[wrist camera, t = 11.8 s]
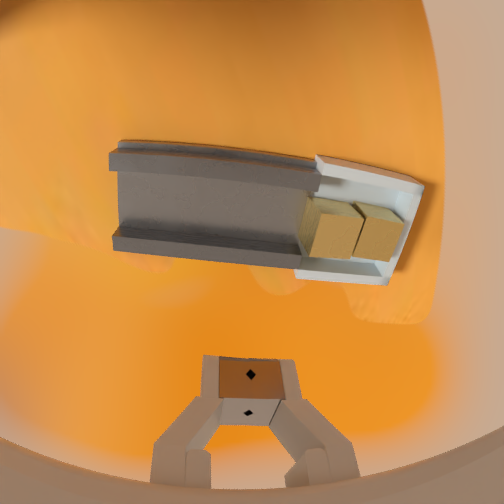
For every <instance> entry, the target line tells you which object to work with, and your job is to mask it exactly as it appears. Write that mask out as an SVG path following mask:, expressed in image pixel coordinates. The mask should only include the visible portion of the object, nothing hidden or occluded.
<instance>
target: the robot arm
mask: <svg viewBox="0 0 504 504" xmlns="http://www.w3.org/2000/svg"><path fill="white" fill-rule="evenodd" d="M219 425H255V426H269V428H270V429H271V431H272V432H273V433H274V435H275V436H276V437H277V439H278V440H279V441H280V442H281V444H282V445H283V446H284V448H285V449H286V450H287V451H288V453H289V454H290V455H291V456H292V458H293V459H294V460H295V462H296V463H295V465H294V466H293V467H292V468H291V469H290V470H289V471H288V472H287V473H286V475H285V484H286V488H275V489H245V490H244V489H243V490H238V489H236V490H235V489H231V490H230V489H211V455H210V453H209V452H207V451H206V450H203V449H204V447H205V446H206V444H207V443H208V441H209V440H210V439H211V437H212V436H213V434H214V433H215V432H216V430H217V429H218V427H219ZM0 504H504V426H502V427H500V428H499V429H497V430H495V431H493V432H491V433H489V434H487V435H485V436H482V437H480V438H478V439H476V440H474V441H471V442H469V443H467V444H465V445H462V446H460V447H457V448H455V449H452V450H450V451H447V452H445V453H442V454H439V455H437V456H434V457H431V458H428V459H425V460H423V461H419V462H416V463H413V464H410V465H407V466H403V467H399V468H396V469H392V470H388V471H385V472H381V473H376V474H372V475H368V476H363V477H360V473H359V469H358V465H357V461H356V457H355V453H354V449H353V446H352V443H351V442H350V441H349V440H348V439H347V438H346V437H345V436H344V435H343V434H341V433H340V432H339V431H338V430H337V429H336V428H335V427H334V426H333V425H332V424H331V423H330V422H329V421H328V420H327V419H326V418H325V417H324V416H323V415H322V414H321V413H320V412H319V411H318V410H317V409H316V408H315V407H314V406H313V405H312V404H311V403H310V402H309V401H308V400H307V399H302V395H301V390H300V386H299V380H298V376H297V371H296V367H295V362H294V361H293V360H285V359H282V360H281V359H256V358H255V359H254V358H249V359H245V358H232V357H222V356H210V355H203V362H202V377H201V395H200V397H199V396H198V397H197V396H196V397H195V398H194V399H193V401H192V402H191V403H190V404H189V405H188V406H187V407H186V408H185V410H184V411H183V412H182V413H181V414H180V415H179V416H178V417H177V419H176V420H175V421H174V422H173V423H172V424H171V425H170V426H169V428H168V429H167V430H166V431H165V432H164V433H163V434H162V435H161V436H160V437H159V439H158V440H157V441H156V442H155V443H154V448H153V457H152V466H151V475H150V483H149V482H143V481H137V480H131V479H126V478H122V477H117V476H112V475H108V474H104V473H99V472H96V471H91V470H88V469H84V468H81V467H77V466H74V465H71V464H68V463H64V462H62V461H58V460H56V459H53V458H50V457H47V456H44V455H42V454H39V453H36V452H34V451H31V450H29V449H26V448H24V447H22V446H19V445H17V444H14V443H12V442H10V441H8V440H6V439H3V438H1V437H0Z"/></svg>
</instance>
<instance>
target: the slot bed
mask: <svg viewBox="0 0 504 504" xmlns="http://www.w3.org/2000/svg"><path fill="white" fill-rule="evenodd" d="M316 167H317V162H316V161H315V160H313V159H307V158H302V157H296V156H290V155H283V154H277V153H270V152H263V151H256V150H248V149H240V148H231V147H222V146H213V145H202V144H190V143H177V142H162V141H141V140H121V141H119V142H118V148H116V149H115V150H113V151H112V152H110V153H109V171H118V211H119V227H118V228H117V230H116V231H115V233H114V234H113V236H112V240H113V250H114V251H123V252H131V253H141V254H150V255H159V256H168V257H178V258H188V259H198V260H207V261H216V262H226V263H236V264H246V265H256V266H267V267H277V268H288V269H299V265H300V262H301V258H302V254H301V251H300V248H299V245H298V244H299V238H298V233H299V230H300V226H301V222H302V218H303V214H304V211H305V207H306V203H307V199H308V197H310V193H311V191H313V192H318V190H319V186H320V182H321V177H322V174H321V173H320V172H319V171H318V170H317V169H316Z"/></svg>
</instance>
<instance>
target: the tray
mask: <svg viewBox="0 0 504 504" xmlns="http://www.w3.org/2000/svg"><path fill="white" fill-rule="evenodd" d="M315 161H316V162H317V167H316V169H317V170H318V171H319V172H320V173H321V174H322V177H321V182H320V186H319V190H318V192H313V191H311V193H310V197H315V198H322V199H329V200H335V201H342V202H348V203H349V204H350V205H351V206H352V204H353V201H358V202H363V203H367V204H372V205H376V206H381V207H385V208H389V209H390V210H391V211H392V212H393V213H394V214H395V215H396V216H397V217H398V218H399V219H400V220H401V221H402V222H403V223H404V224H405V225H404V227H403V230H402V233H401V235H400V238H399V240H398V242H397V245H396V247H395V250H394V252H393V254H392V257H391V259H390V261H389V262H385V261H378V260H371V259H364V258H357V257H352V255H351V258H350V259H336V258H321V257H309V256H308V254H307V252H306V250H305V249H304V247H303V245H302V243H301V241H300V240H299V244H298V245H299V248H300V251H301V254H302V258H301V262H300V265H299V269H294V273H295V277H296V278H297V279H309V280H321V281H334V282H346V283H359V284H373V285H388V282H389V280H390V278H391V275H392V273H393V271H394V269H395V266H396V264H397V261H398V259H399V256H400V254H401V252H402V249H403V247H404V244H405V241H406V239H407V236H408V234H409V231H410V228H411V226H412V223H413V220H414V217H415V214H416V212H417V209H418V206H419V203H420V200H421V197H422V194H423V191H424V188H425V186H424V185H422V184H421V183H419V182H418V181H416V180H415V179H413V178H412V177H410V176H408V175H404V174H401V173H397V172H393V171H389V170H385V169H381V168H377V167H373V166H369V165H364V164H360V163H355V162H351V161H346V160H342V159H337V158H332V157H327V156H322V155H316V156H315Z"/></svg>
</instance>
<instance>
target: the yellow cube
mask: <svg viewBox="0 0 504 504" xmlns="http://www.w3.org/2000/svg"><path fill="white" fill-rule="evenodd" d="M352 207H353V208H354V209H355V210H356V211H357V212H358V213H359V214H360V215H361V216H362V217H363V218H364V221H363V224H362V227H361V230H360V233H359V236H358V239H357V241H356V244H355V247H354V250H353V252H352V257H357V258H364V259H371V260H378V261H385V262H389V261H390V259H391V257H392V254H393V252H394V250H395V247H396V245H397V242H398V240H399V238H400V235H401V233H402V230H403V227H404V225H405V224H404V223H403V222H402V221H401V220H400V219H399V218H398V217H397V216H396V215H395V214H394V213H393V212H392V211H391V210H390V209H389V208H385V207H381V206H376V205H372V204H367V203H363V202H358V201H353V204H352Z"/></svg>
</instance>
